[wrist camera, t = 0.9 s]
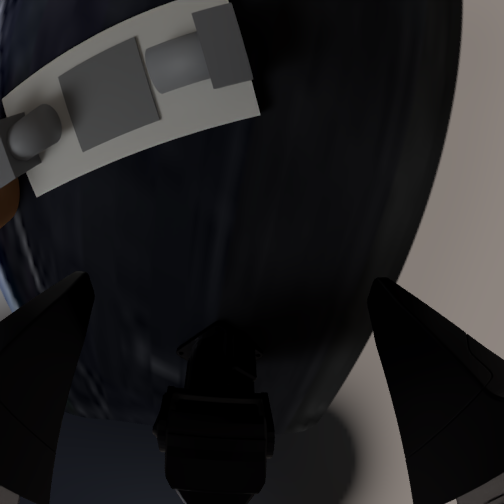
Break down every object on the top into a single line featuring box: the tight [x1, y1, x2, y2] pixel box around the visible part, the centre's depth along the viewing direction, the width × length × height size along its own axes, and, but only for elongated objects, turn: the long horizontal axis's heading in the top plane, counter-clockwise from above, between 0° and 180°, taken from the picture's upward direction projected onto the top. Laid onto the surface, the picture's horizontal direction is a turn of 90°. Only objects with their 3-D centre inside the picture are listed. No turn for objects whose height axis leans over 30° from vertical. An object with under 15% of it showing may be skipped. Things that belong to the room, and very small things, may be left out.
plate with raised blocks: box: [0, 0, 260, 197], centre depth 14 cm, size 18×9×4 cm, turn 104°
